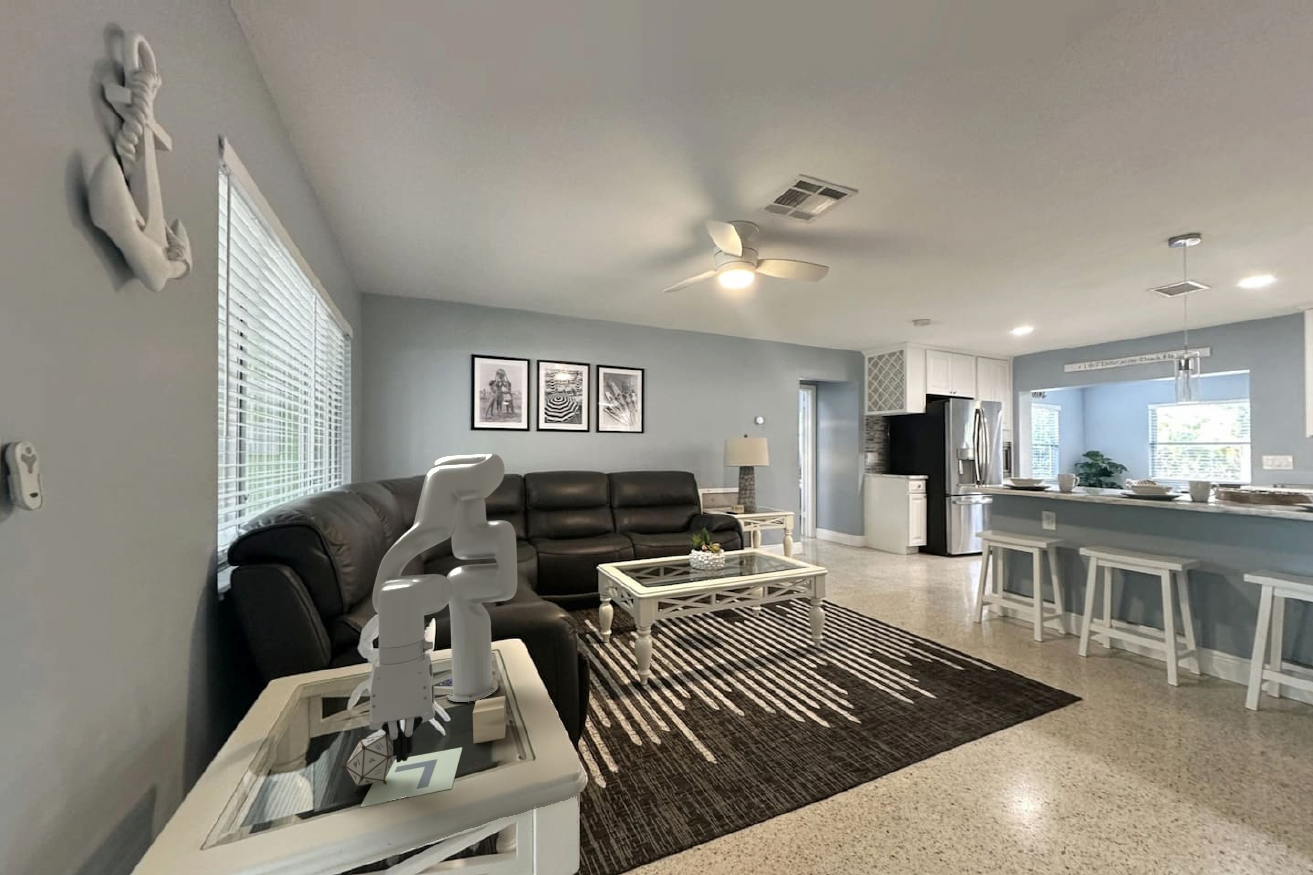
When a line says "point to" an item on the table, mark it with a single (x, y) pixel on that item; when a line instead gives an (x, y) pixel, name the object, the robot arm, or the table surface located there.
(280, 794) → the table surface
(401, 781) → the letter card
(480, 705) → the cube
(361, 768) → the game die
